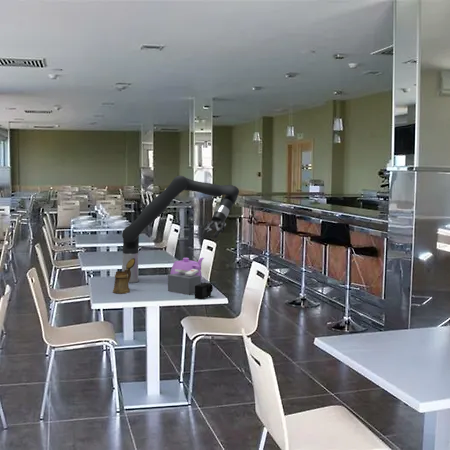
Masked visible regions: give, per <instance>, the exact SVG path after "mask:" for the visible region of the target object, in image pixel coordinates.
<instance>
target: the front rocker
mask: <svg viewBox="0 0 450 450" xmlns="http://www.w3.org/2000/svg"><path fill="white" fill-rule="evenodd" d="M197 272H199V271H198V270H196V269H192V270H190V271H188V272H186V273H185V275H187V276H192V275H195V274H196V273H197Z"/></svg>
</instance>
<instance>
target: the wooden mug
mask: <svg viewBox="0 0 450 450" xmlns="http://www.w3.org/2000/svg"><path fill="white" fill-rule="evenodd" d="M134 264H135V258H132V259H131V260H129V261H128V262H127V265H126V270H125V271H122V270H118V271H116V272H115V274H114V286H113V289H112V293H114V294H121V295H123V294H124V295H125V294H128V293H130V287H129V280H130V277H131V271H130V269H131V268H132V267H133V266H134ZM127 274H128V275H127ZM127 277H128V278H127Z"/></svg>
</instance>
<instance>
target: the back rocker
mask: <svg viewBox="0 0 450 450" xmlns="http://www.w3.org/2000/svg"><path fill="white" fill-rule="evenodd" d="M175 271H177V272H178V273H183V274H184V273H186V272H188V271H186V270H179V269H175Z"/></svg>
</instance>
